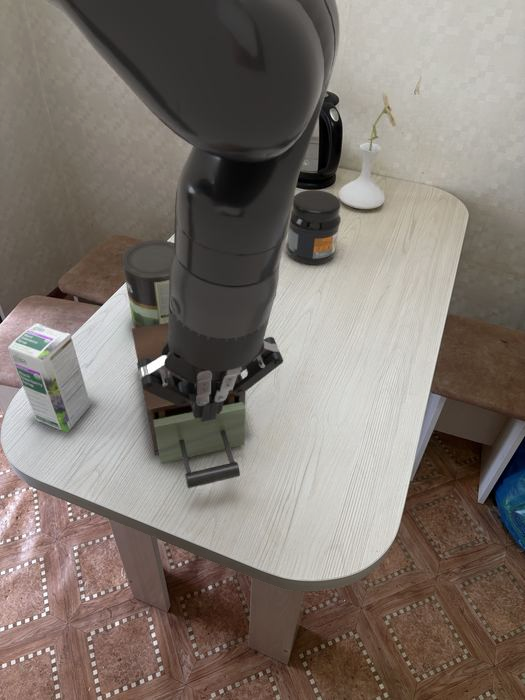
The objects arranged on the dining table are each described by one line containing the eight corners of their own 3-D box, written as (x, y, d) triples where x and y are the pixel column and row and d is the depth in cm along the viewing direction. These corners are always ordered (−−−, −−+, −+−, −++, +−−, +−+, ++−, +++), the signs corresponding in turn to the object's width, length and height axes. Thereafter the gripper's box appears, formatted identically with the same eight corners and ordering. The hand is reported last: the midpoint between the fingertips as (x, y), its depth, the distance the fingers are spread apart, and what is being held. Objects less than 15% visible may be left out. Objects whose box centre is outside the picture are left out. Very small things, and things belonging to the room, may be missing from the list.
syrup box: (34, 421, 73) (3, 348, 63) (61, 393, 77) (35, 320, 67) (67, 433, 71) (41, 361, 61) (92, 404, 75) (71, 331, 65)
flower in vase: (376, 218, 120) (400, 107, 103) (331, 206, 124) (347, 97, 106) (390, 196, 129) (414, 90, 112) (347, 185, 132) (365, 81, 115)
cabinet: (244, 435, 72) (245, 390, 66) (154, 455, 69) (146, 409, 63) (218, 360, 83) (217, 314, 77) (140, 374, 80) (131, 328, 73)
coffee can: (131, 346, 85) (118, 277, 75) (135, 307, 92) (124, 240, 83) (192, 343, 86) (187, 275, 76) (192, 305, 93) (187, 239, 84)
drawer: (258, 487, 65) (261, 451, 60) (169, 509, 63) (163, 474, 57) (219, 371, 80) (219, 334, 75) (146, 385, 77) (139, 348, 72)
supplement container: (344, 259, 107) (353, 207, 98) (300, 270, 103) (307, 217, 95) (318, 235, 113) (325, 184, 105) (277, 245, 110) (281, 193, 101)
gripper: (288, 249, 41) (255, 370, 54) (119, 269, 36) (130, 394, 50) (323, 320, 37) (279, 431, 50) (139, 351, 32) (145, 462, 46)
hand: (205, 412), depth 50 cm, fingers closed
